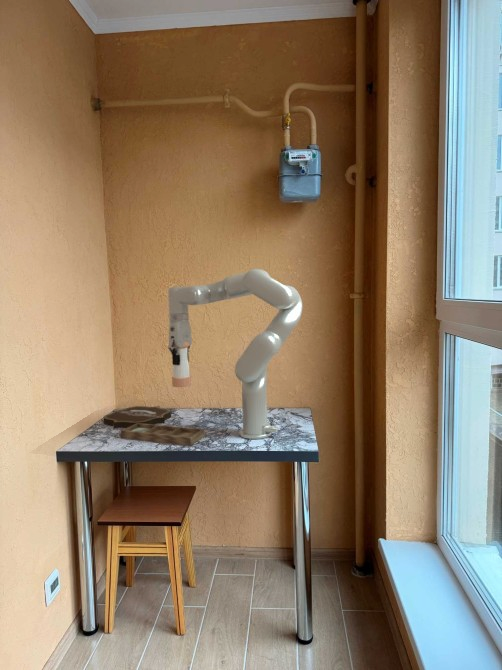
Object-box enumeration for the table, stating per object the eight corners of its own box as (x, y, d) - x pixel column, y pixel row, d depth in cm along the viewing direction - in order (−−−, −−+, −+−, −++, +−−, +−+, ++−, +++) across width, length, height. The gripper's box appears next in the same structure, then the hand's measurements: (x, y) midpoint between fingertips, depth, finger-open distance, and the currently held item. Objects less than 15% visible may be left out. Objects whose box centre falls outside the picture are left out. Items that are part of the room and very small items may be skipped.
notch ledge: (205, 436, 178) (204, 429, 178) (190, 446, 168) (190, 438, 168) (137, 430, 190) (137, 422, 189) (120, 438, 180) (120, 430, 179)
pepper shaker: (175, 383, 189) (173, 336, 188) (193, 383, 188) (191, 336, 186) (169, 387, 182) (167, 338, 180) (187, 387, 181) (185, 338, 179)
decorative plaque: (185, 408, 212) (141, 426, 185) (185, 415, 212) (141, 434, 186) (135, 403, 226) (87, 419, 199) (135, 409, 226) (87, 425, 200)
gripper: (174, 319, 173) (176, 367, 175) (198, 316, 189) (199, 360, 191) (158, 319, 176) (160, 366, 178) (182, 316, 192) (184, 360, 194)
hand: (180, 363), depth 184 cm, fingers closed on pepper shaker, 5 cm apart
